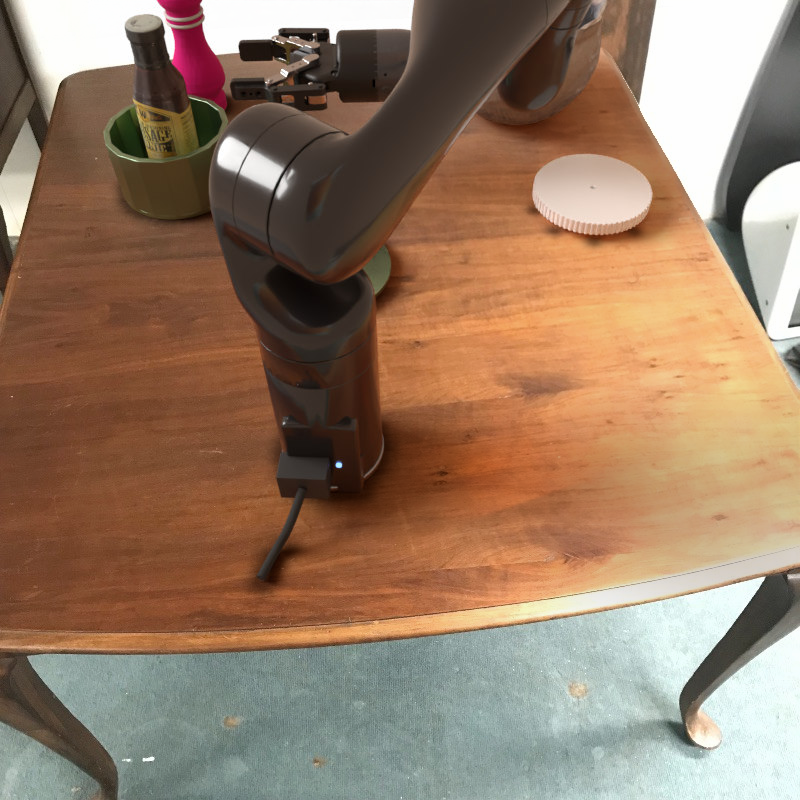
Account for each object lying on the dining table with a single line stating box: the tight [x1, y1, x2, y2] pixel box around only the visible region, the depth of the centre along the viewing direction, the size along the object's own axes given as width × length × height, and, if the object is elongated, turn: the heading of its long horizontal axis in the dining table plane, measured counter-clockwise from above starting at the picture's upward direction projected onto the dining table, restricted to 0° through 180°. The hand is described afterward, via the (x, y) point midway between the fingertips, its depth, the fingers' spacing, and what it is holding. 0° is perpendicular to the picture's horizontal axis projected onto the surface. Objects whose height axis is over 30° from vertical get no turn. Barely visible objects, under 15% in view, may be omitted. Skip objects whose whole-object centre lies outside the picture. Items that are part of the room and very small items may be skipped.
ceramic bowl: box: [475, 0, 611, 126], centre depth 103 cm, size 22×22×15 cm
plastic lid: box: [531, 153, 653, 236], centre depth 93 cm, size 14×14×2 cm
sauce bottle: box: [124, 13, 200, 159], centre depth 90 cm, size 6×6×20 cm
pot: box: [103, 95, 230, 221], centre depth 95 cm, size 14×14×8 cm
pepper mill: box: [156, 0, 228, 111], centre depth 102 cm, size 7×7×20 cm
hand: (235, 69), depth 87 cm, fingers open, 8 cm apart
